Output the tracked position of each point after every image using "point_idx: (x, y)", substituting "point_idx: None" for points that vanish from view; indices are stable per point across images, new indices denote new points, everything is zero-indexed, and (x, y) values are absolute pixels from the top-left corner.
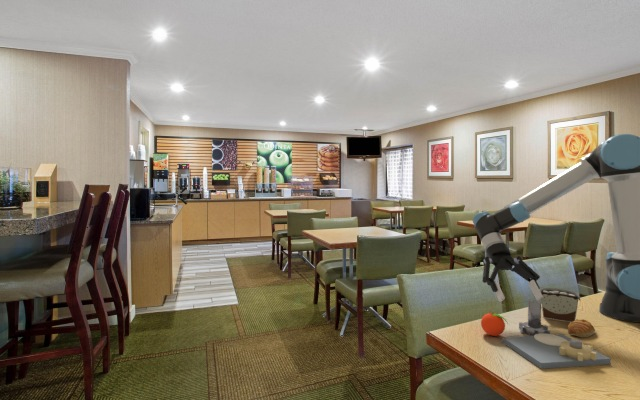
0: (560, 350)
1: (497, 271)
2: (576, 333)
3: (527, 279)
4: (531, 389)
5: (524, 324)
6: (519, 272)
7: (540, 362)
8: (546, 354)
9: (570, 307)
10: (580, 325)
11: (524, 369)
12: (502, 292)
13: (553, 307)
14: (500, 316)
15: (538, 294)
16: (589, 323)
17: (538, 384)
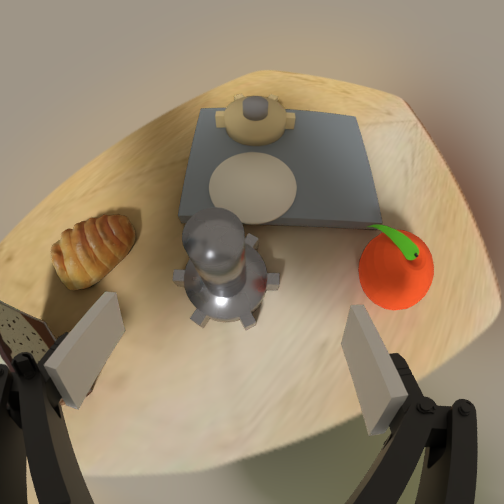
0: (294, 121)
1: (364, 497)
2: (129, 222)
3: (60, 419)
4: (393, 100)
5: (250, 298)
6: (74, 476)
7: (355, 117)
8: (323, 133)
9: (19, 322)
10: (93, 230)
11: (382, 130)
12: (361, 327)
13: None
14: (395, 234)
15: (109, 311)
16: (57, 242)
17: (379, 103)
